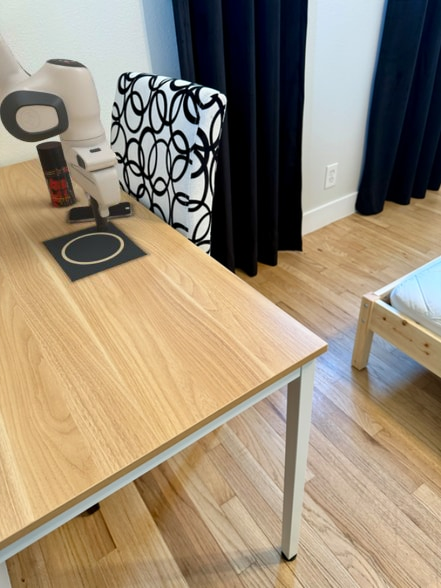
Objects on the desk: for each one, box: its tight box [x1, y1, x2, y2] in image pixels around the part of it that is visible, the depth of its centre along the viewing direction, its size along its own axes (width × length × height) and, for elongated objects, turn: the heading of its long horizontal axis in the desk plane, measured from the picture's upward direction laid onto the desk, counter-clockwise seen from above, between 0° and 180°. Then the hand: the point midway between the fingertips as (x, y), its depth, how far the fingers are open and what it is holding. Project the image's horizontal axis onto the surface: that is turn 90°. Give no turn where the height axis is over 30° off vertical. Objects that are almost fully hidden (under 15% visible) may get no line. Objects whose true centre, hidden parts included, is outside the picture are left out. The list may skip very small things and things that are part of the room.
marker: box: [89, 194, 109, 232], centre depth 95 cm, size 3×3×13 cm
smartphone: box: [67, 201, 133, 224], centre depth 105 cm, size 8×1×15 cm
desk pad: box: [42, 220, 148, 283], centre depth 92 cm, size 16×19×1 cm
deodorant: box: [35, 140, 77, 209], centre depth 107 cm, size 6×6×15 cm
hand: (99, 210), depth 96 cm, fingers open, 5 cm apart
